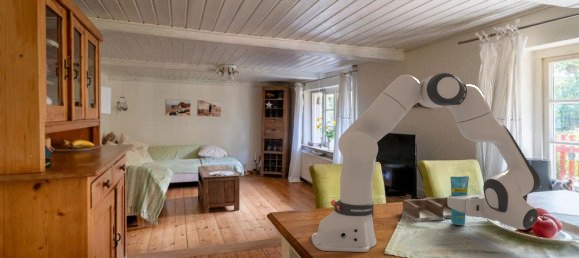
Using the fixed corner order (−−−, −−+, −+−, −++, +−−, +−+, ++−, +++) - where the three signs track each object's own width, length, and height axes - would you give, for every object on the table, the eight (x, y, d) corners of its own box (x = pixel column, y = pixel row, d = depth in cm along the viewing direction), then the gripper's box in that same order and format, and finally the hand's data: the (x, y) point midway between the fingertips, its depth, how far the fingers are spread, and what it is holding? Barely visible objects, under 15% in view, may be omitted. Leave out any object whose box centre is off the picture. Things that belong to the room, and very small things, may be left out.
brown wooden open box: (416, 221, 134) (416, 207, 133) (402, 212, 146) (402, 199, 145) (443, 220, 135) (443, 206, 135) (427, 211, 147) (427, 198, 147)
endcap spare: (438, 218, 137) (438, 205, 137) (423, 210, 149) (423, 197, 149) (464, 217, 139) (464, 204, 138) (447, 209, 150) (447, 197, 150)
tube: (453, 225, 127) (454, 177, 126) (446, 221, 132) (447, 175, 131) (470, 225, 128) (472, 177, 127) (462, 221, 133) (464, 174, 132)
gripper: (509, 195, 120) (477, 187, 133) (465, 199, 114) (437, 190, 127) (508, 212, 120) (477, 202, 133) (465, 216, 114) (436, 206, 127)
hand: (457, 196), depth 130 cm, fingers closed on tube, 6 cm apart
